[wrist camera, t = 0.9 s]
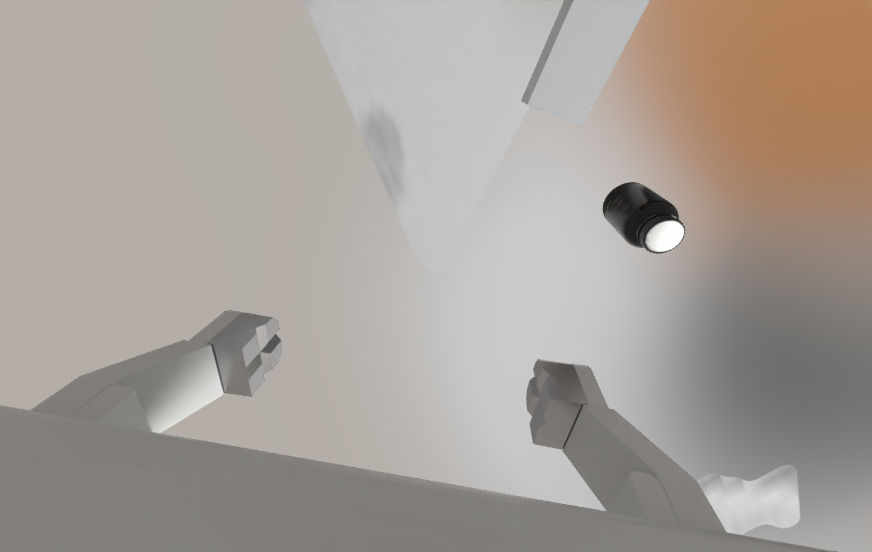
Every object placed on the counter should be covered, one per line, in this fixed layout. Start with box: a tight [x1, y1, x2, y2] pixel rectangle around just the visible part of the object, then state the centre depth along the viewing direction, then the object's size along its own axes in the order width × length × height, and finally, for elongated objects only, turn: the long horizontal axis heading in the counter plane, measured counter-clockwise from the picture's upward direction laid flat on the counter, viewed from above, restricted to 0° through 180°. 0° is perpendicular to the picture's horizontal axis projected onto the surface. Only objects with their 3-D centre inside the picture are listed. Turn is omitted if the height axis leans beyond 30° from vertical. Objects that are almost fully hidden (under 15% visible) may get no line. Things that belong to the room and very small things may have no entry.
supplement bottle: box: [603, 182, 685, 253], centre depth 46 cm, size 7×7×12 cm
